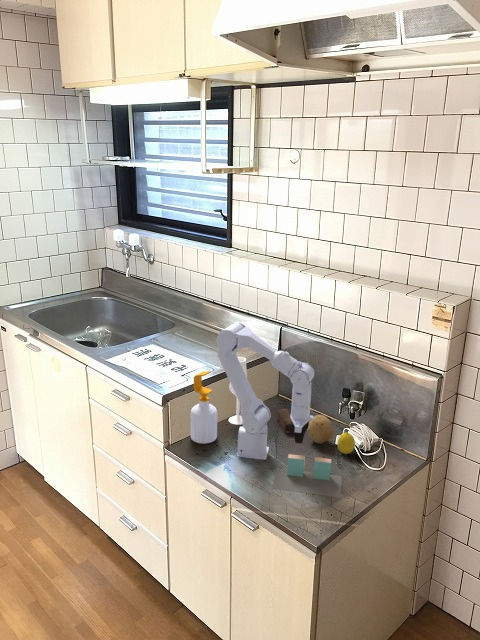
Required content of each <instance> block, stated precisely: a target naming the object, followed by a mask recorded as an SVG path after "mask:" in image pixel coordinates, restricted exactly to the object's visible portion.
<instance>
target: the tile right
mask: <svg viewBox="0 0 480 640" xmlns="http://www.w3.org/2000/svg"><path fill="white" fill-rule="evenodd" d="M331 470H332V459H331V458H327V457H326V458H323V457H316V456H315V457H314V462H313V472H312V473H313V478H314V479H322V480H330V475H331Z"/></svg>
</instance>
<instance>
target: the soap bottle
mask: <svg viewBox="0 0 480 640" xmlns="http://www.w3.org/2000/svg"><path fill="white" fill-rule="evenodd" d="M211 373H212V371H211V370H205V371H200V372H199V373H198V374H196V375H194V376H193V391H194V392H195V393H198V394H199V395H200V396H199V397H198V403H197V404H195V405H194V406H193V407H192V408H191V409H190V438H191V440H192V441H193V442H194V443H197V444H202V445H203V444H210V443H213V442H214V441H216V440H217V437H218V409H217V408H216V406H214V405H213V404H211V403H210V398H209V396H208V395H209V394H211V393H212V392H213V389H212V388H208V387H205V386H203V384H202V379H203V378H202V377H204V376H207V375H208V374H211Z"/></svg>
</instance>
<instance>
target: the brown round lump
mask: <svg viewBox="0 0 480 640" xmlns="http://www.w3.org/2000/svg"><path fill="white" fill-rule="evenodd" d="M306 432H307V435H309V436H310V438H311V439H312V441H314V442H315V443H316V444H324V443H325V442H328V441H329V440H332V439H333V438H334V436H335V430H334V427H333V425H332V422H331V421H330V419H329V418H328V417H327V416H325V415H323V414H317V415H313V420H309V427H308V429H307V430H306Z"/></svg>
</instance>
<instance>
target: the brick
mask: <svg viewBox="0 0 480 640" xmlns="http://www.w3.org/2000/svg"><path fill="white" fill-rule="evenodd" d="M290 415H291V412H290V411H289V409H288V408H278V409H277V410H276V418H277V422H278V424H279V426H280V427H281V429H282V431H283V432H284V433H285V434H290V433H292V434H294V433H293V430H292V428H291V426H290V423H291V418H290Z"/></svg>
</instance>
